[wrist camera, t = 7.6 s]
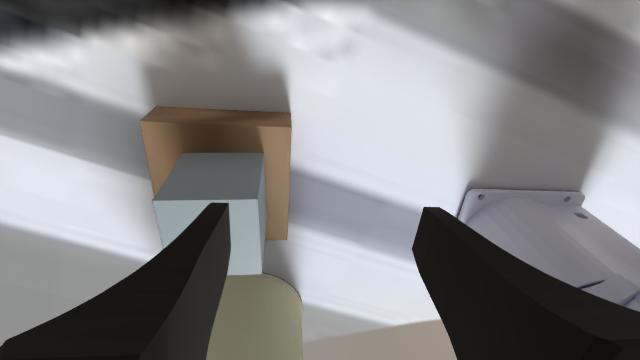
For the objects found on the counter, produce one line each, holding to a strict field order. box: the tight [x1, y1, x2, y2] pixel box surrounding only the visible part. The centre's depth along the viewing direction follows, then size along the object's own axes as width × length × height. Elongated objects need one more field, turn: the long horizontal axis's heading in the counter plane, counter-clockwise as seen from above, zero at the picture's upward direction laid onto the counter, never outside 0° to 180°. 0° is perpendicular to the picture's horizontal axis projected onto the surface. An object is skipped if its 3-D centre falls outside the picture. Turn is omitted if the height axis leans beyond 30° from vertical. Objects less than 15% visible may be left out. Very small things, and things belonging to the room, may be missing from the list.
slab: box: [140, 107, 292, 240], centre depth 21 cm, size 8×8×3 cm
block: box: [152, 153, 267, 275], centre depth 18 cm, size 4×4×5 cm
